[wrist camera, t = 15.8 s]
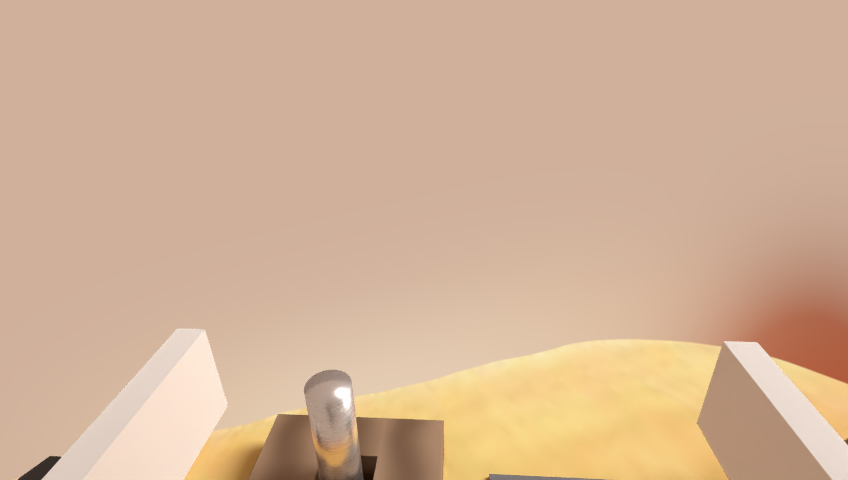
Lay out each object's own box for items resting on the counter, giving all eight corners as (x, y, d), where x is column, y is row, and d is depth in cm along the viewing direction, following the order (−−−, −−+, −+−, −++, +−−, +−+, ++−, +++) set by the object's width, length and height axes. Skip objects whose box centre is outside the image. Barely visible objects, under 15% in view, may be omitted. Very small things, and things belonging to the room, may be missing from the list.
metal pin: (370, 492, 43) (355, 370, 37) (362, 530, 40) (345, 404, 34) (332, 490, 44) (311, 369, 37) (322, 528, 40) (297, 402, 34)
